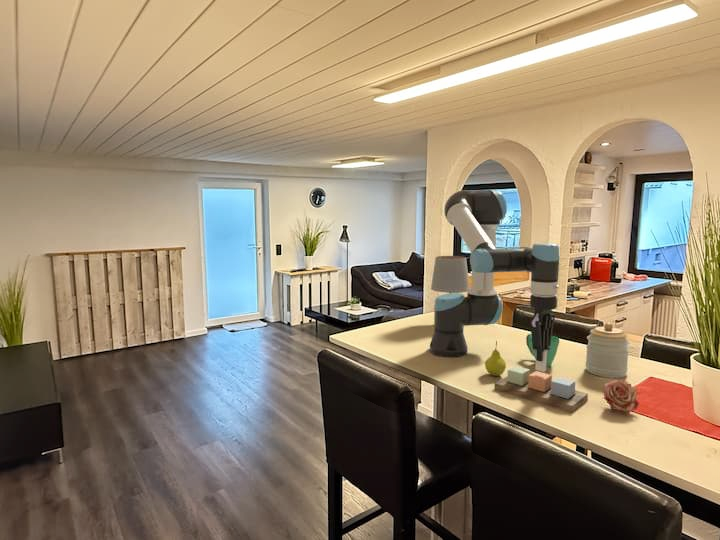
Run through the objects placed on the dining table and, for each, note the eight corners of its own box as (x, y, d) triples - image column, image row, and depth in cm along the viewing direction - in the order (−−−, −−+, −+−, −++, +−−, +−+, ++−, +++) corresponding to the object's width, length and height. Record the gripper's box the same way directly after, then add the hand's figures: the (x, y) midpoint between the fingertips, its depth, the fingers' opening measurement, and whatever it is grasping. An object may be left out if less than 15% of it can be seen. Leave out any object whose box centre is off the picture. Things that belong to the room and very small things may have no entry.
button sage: (507, 381, 143) (507, 369, 142) (514, 377, 146) (515, 365, 146) (522, 385, 139) (522, 373, 139) (529, 381, 143) (529, 369, 142)
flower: (591, 395, 133) (598, 380, 127) (620, 388, 133) (628, 373, 128) (611, 424, 126) (618, 410, 120) (641, 417, 126) (650, 402, 121)
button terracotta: (528, 387, 138) (528, 375, 137) (535, 383, 141) (536, 371, 141) (544, 392, 134) (544, 379, 134) (551, 387, 138) (551, 375, 137)
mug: (564, 367, 162) (565, 340, 160) (541, 370, 159) (542, 342, 158) (537, 354, 176) (538, 330, 174) (516, 357, 173) (517, 332, 171)
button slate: (550, 394, 133) (551, 381, 132) (557, 389, 136) (558, 376, 136) (568, 398, 129) (568, 385, 129) (574, 393, 133) (575, 381, 132)
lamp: (430, 328, 217) (431, 259, 212) (430, 319, 235) (431, 255, 231) (470, 329, 214) (472, 259, 209) (467, 320, 232) (468, 255, 228)
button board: (494, 389, 142) (494, 383, 142) (512, 379, 151) (512, 373, 150) (571, 412, 125) (572, 405, 125) (587, 399, 133) (587, 393, 133)
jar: (622, 367, 160) (625, 320, 158) (631, 380, 148) (635, 329, 146) (582, 364, 164) (585, 317, 162) (588, 376, 152) (590, 326, 150)
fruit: (502, 380, 150) (503, 345, 148) (482, 376, 153) (483, 342, 152) (507, 374, 155) (508, 340, 154) (487, 370, 159) (488, 338, 157)
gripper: (546, 299, 127) (543, 379, 130) (565, 293, 136) (561, 367, 139) (521, 296, 132) (519, 372, 135) (541, 290, 141) (538, 362, 144)
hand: (540, 370), depth 137 cm, fingers closed
